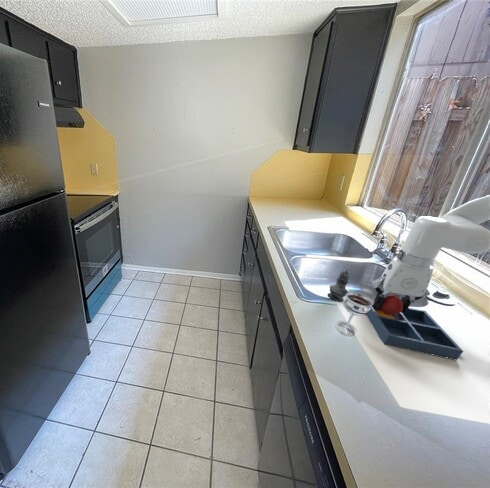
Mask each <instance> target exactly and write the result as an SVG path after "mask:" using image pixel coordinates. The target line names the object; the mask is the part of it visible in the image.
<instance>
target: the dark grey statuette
mask: <svg viewBox="0 0 490 488" xmlns="http://www.w3.org/2000/svg"><path fill="white" fill-rule="evenodd" d="M348 271H349V270H348V269H346V270H343V271H340V273H339V275H338V277H337V278H336V283H335V284H331V285H329V292H328V293H327V297H328V298H329V299H330V300H331V301H334V302H337V303H343V301H344V298H345V297H347V296H346V294H347V293H349V291H348V289H347V288H346V287H347V285H348V284H349V279H350V277H351V273H350V272H348Z"/></svg>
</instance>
